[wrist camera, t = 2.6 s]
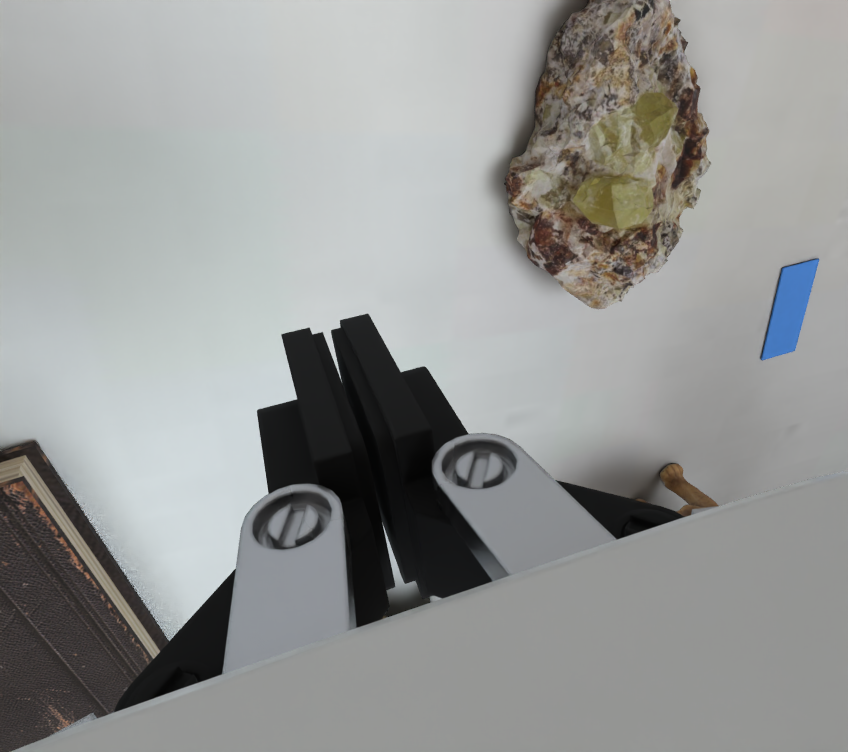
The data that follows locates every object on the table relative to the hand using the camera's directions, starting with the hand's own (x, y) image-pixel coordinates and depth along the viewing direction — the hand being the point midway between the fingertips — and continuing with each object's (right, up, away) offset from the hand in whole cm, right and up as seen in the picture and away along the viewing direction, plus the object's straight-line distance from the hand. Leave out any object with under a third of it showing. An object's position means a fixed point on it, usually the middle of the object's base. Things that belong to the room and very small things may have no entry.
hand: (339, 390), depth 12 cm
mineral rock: (+8, +9, +11) cm, 16 cm away
